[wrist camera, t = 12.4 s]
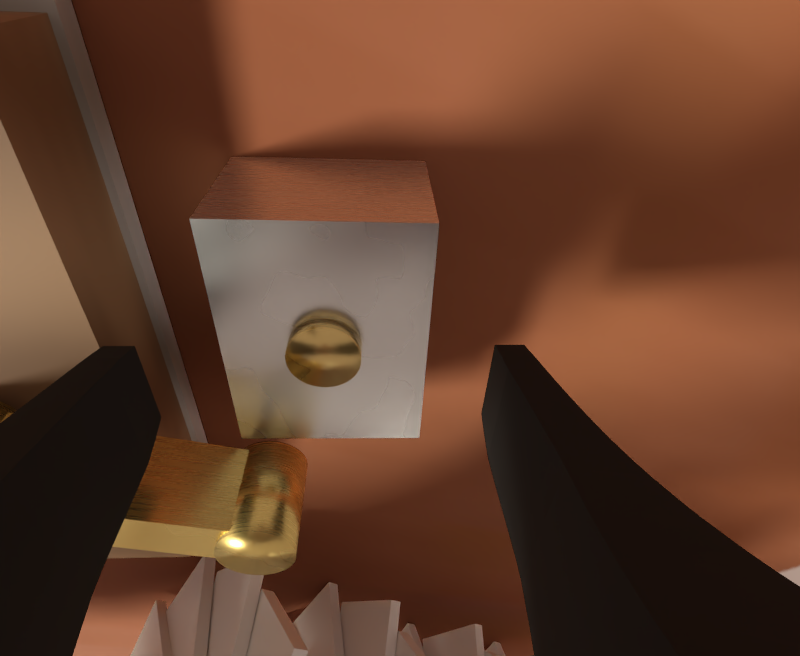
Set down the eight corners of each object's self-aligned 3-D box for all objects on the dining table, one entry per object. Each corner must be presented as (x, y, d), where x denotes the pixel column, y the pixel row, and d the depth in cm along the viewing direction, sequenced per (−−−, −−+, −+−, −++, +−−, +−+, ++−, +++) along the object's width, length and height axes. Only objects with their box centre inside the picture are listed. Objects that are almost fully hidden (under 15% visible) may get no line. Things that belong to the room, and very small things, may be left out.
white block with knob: (411, 350, 16) (420, 450, 12) (266, 349, 15) (238, 451, 12) (424, 158, 12) (441, 233, 9) (233, 153, 12) (182, 228, 9)
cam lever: (313, 447, 13) (302, 539, 11) (300, 487, 14) (288, 578, 12) (-57, 387, 11) (-151, 484, 9) (-41, 438, 12) (-121, 536, 10)
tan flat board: (220, 483, 19) (198, 561, 17) (46, 486, 19) (-2, 565, 16) (68, -10, 9) (-34, 7, 7) (-295, -23, 9) (-530, -11, 7)
